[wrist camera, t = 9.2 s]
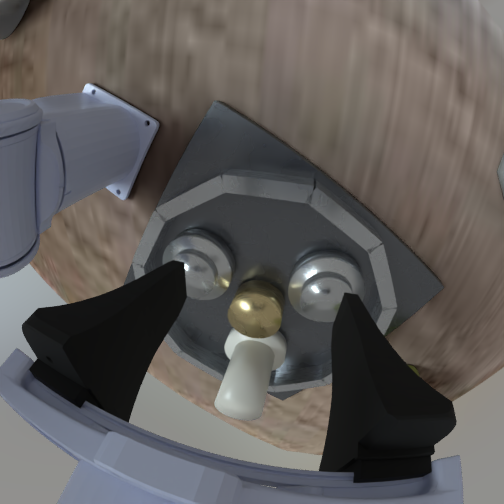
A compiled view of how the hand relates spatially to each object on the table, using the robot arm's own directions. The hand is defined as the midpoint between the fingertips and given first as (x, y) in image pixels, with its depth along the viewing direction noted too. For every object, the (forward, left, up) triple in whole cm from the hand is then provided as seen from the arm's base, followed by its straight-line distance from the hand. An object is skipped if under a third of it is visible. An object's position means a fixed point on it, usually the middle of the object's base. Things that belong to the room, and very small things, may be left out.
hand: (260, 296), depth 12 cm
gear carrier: (+3, -7, -10) cm, 13 cm away
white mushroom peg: (+6, -12, -9) cm, 16 cm away
